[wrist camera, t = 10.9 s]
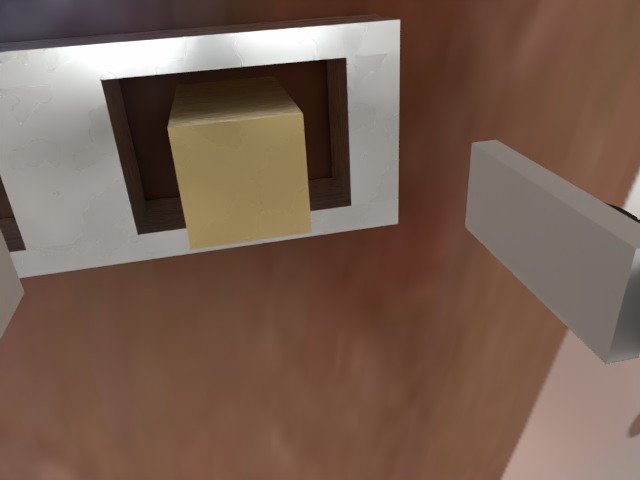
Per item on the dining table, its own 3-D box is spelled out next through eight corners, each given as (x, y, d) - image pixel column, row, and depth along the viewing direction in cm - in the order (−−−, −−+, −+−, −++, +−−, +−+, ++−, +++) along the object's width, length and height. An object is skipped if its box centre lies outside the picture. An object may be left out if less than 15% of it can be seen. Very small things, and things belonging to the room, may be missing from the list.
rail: (-332, 69, 20) (-444, 88, 17) (371, 13, 25) (400, 19, 21) (-212, 271, 24) (-281, 321, 21) (373, 193, 29) (398, 223, 25)
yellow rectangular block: (176, 85, 24) (167, 128, 17) (273, 75, 25) (303, 113, 18) (192, 177, 26) (190, 249, 19) (282, 166, 27) (311, 232, 20)
